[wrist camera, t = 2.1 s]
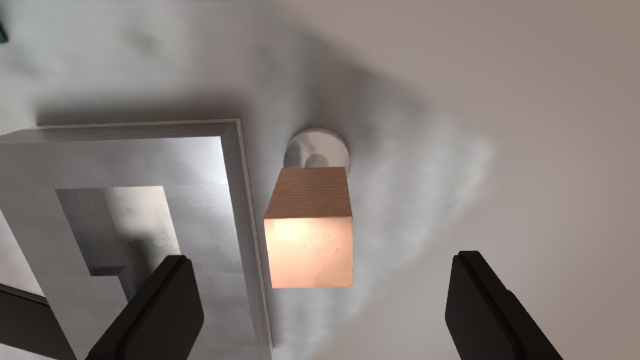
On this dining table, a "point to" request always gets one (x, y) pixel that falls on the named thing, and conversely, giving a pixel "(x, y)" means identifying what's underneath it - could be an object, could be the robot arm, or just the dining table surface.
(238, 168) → the keyhole plate
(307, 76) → the dining table surface
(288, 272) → the peg
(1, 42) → the coffee box
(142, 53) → the dining table surface
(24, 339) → the smartphone
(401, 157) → the dining table surface
